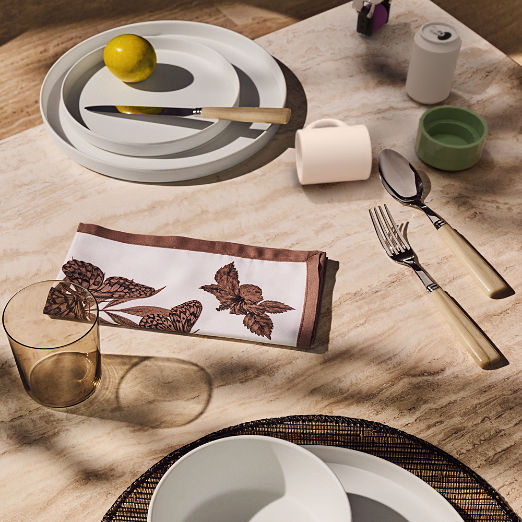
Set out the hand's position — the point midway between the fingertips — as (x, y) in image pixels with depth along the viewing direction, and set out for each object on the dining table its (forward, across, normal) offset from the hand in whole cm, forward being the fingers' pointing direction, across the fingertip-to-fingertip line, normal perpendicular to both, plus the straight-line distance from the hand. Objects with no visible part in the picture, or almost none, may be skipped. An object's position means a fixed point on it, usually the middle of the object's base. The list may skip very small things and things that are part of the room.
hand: (372, 26), depth 129 cm
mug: (+1, -37, -15) cm, 40 cm away
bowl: (+1, -23, -28) cm, 36 cm away
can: (+1, -11, -18) cm, 21 cm away
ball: (-2, 0, 0) cm, 2 cm away
